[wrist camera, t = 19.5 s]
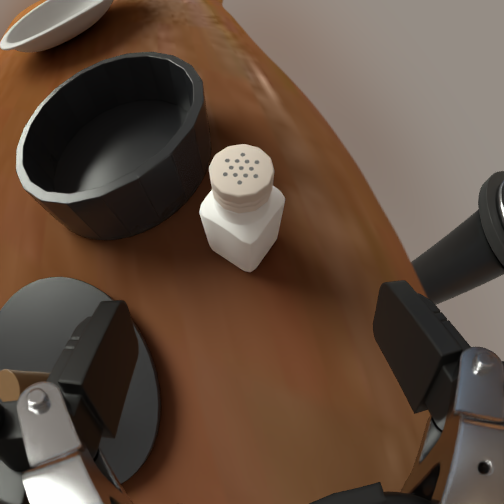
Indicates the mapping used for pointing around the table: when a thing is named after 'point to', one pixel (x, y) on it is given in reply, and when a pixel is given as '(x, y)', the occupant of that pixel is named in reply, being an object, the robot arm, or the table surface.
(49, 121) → the pot
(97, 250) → the table surface
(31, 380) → the lid
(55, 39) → the soup bowl
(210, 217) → the pepper shaker
